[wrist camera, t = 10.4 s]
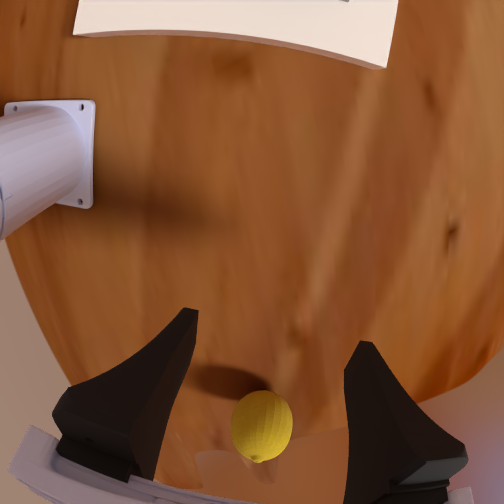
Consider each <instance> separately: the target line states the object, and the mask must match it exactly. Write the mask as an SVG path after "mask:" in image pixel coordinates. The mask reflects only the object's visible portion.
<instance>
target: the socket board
mask: <svg viewBox="0 0 504 504" xmlns="http://www.w3.org/2000/svg"><path fill="white" fill-rule="evenodd" d="M397 5H398V0H79V5H78V9H77V14H76V19H75V25H74V31H73V35H78V36H86V37H93V38H95V37H108V36H128V35H176V36H197V37H210V38H221V39H231V40H239V41H247V42H254V43H261V44H267V45H273V46H279V47H285V48H290V49H295V50H300V51H304V52H309V53H313V54H318V55H322V56H326V57H330V58H334V59H338V60H341V61H345V62H349V63H352V64H356V65H359V66H362V67H366V68H369V69H372V70H378V69H383V68H386V66H387V61H388V56H389V51H390V45H391V40H392V35H393V29H394V23H395V17H396V11H397Z"/></svg>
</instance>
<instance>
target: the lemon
mask: <svg viewBox="0 0 504 504" xmlns="http://www.w3.org/2000/svg"><path fill="white" fill-rule="evenodd" d="M291 432H292V413H291V410H290V408H289V406H288V404H287V402H286V401H285V400H284V399H283V398H282V397H281V396H279V395H278V394H276V393H274V392H270V391H267V390H262V391H255V392H252V393H249V394H247V395H246V396H244V397H243V398H242V399H241V400H240V401H239V402H238V404H237V405H236V407H235V409H234V411H233V414H232V418H231V437H232V441H233V444H234V446H235V447H236V449H237V450H238V451H239V452H240V453H241V454H242V455H243V456H245V457H247V458H249V459H252V460H253V461H254V462H256V463H260V462H262V461H264V460H269V459H272V458H274V457H276V456H277V455H279V454H280V453H281V452H282V451H283V450H284V448H285V447H286V446H287V444H288V442H289V439H290V436H291Z"/></svg>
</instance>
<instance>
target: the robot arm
mask: <svg viewBox="0 0 504 504" xmlns="http://www.w3.org/2000/svg"><path fill="white" fill-rule="evenodd" d="M82 104H83V105H84V109H83V110H82V108H81V106H82ZM16 107H17V109H16ZM94 120H95V103H94V101H92V100H40V101H22V102H10V103H7V104H6V105H5V109H4V116H2V117H0V241H1V240H3V239H4V238H5V237H7V236H8V235H9V234H11V233H12V232H13V231H15V230H16V229H18V228H19V227H20V226H22V225H23V224H25V223H26V222H27V221H29V220H30V219H32V218H33V217H35V216H36V215H38V214H39V213H41V212H42V211H44V210H45V209H47V208H48V207H50V206H51V205H53V204H54V203H58V204H63V205H68V206H74V207H79V208H84V209H88V208H90V207H91V206H92V205H93V140H94ZM80 199H82V201H83V203H82V202H81V201H80ZM198 312H199V310H194V309H190V308H186V307H185V308H183V309H182V310H181V311H180V312H179V313H178V315H177V316H176V317H175V318H174V319H173V320H172V321H171V322H170V323H169V324H168V325H167V326H166V327H165V328H164V329H163V330H162V331H161V332H160V333H159V334H158V335H157V336H156V337H155V338H154V339H153V340H152V341H150V342H149V343H148V344H147V345H146V346H144V347H143V348H142V349H141V350H139V351H138V352H137V353H136V354H134V355H133V356H131V357H130V358H128V359H127V360H125V361H124V362H122V363H121V364H119V365H117V366H116V367H114V368H112V369H111V370H109V371H107V372H105V373H103V374H101V375H99V376H96V377H94V378H92V379H90V380H88V381H85V382H82V383H80V384H77V385H74V386H71V387H68V389H67V390H66V391H65V393H64V394H63V395H62V396H61V398H60V399H59V401H58V403H57V405H56V406H55V408H54V410H53V412H52V417H53V419H54V421H55V423H56V425H57V426H58V428H59V430H60V431H61V433H62V438H61V439H60V441H59V440H58V439H56V438H55V437H54V436H52V435H50V434H48V433H46V432H44V431H42V430H41V429H39V428H37V427H35V426H33V425H31V426H30V427H29V429H28V431H27V432H26V434H25V436H24V438H23V440H22V442H21V444H20V445H19V447H18V449H17V451H16V453H15V455H14V457H13V459H12V461H11V463H10V465H9V467H8V468H7V470H8V472H9V473H10V474H11V475H13V476H14V477H15V478H16V479H17V480H18V481H20V482H21V483H22V484H23V485H25V486H26V487H27V488H28V489H29V490H31V491H32V492H34V493H36V494H37V495H39V496H41V497H43V498H44V499H46V500H48V501H50V502H52V503H54V504H263V503H254V502H246V501H240V500H233V499H227V498H221V497H216V496H210V495H206V494H201V493H196V492H192V491H187V490H183V489H179V488H175V487H171V486H168V485H164V484H160V483H157V482H153V479H154V474H155V470H156V465H157V461H158V457H159V453H160V449H161V445H162V441H163V437H164V434H165V430H166V426H167V423H168V419H169V416H170V412H171V409H172V406H173V403H174V401H175V398H176V396H177V394H178V391H179V389H180V386H181V384H182V382H183V379H184V377H185V374H186V372H187V369H188V367H189V365H190V362H191V358H192V355H193V351H194V348H195V344H196V334H197V323H198ZM344 394H345V403H346V411H347V420H348V428H349V458H348V473H347V482H346V489H345V496H344V501H343V504H474V501H473V496H472V491H471V487H470V486H468V487H463V488H459V489H454V490H451V491H449V492H447V489H446V487H447V486H449V484H450V483H449V478H450V477H452V476H453V475H454V474H456V473H457V472H458V471H460V470H461V469H462V468H463V467H465V465H466V464H467V462H468V456H467V452H466V448H465V445H464V444H463V443H462V442H460V441H459V440H457V439H456V438H454V437H453V436H451V435H450V434H448V433H447V432H446V431H444V430H443V429H442V428H441V427H439V426H438V425H437V424H436V423H435V422H434V421H433V420H431V419H430V418H429V417H428V416H427V415H426V414H425V413H424V412H423V411H422V410H421V409H420V408H419V407H418V406H417V404H416V403H415V402H414V401H413V400H412V399H411V397H410V396H409V395H408V394H407V392H406V391H405V390H404V388H403V387H402V386H401V384H400V383H399V382H398V380H397V379H396V377H395V376H394V375H393V373H392V372H391V370H390V369H389V367H388V365H387V364H386V362H385V361H384V359H383V358H382V356H381V355H380V353H379V352H378V350H377V348H376V347H375V345H374V344H373V343H372V342H367V341H360V342H359V344H358V345H357V347H356V349H355V351H354V353H353V355H352V357H351V358H350V360H349V362H348V364H347V366H346V368H345V369H344Z"/></svg>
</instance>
